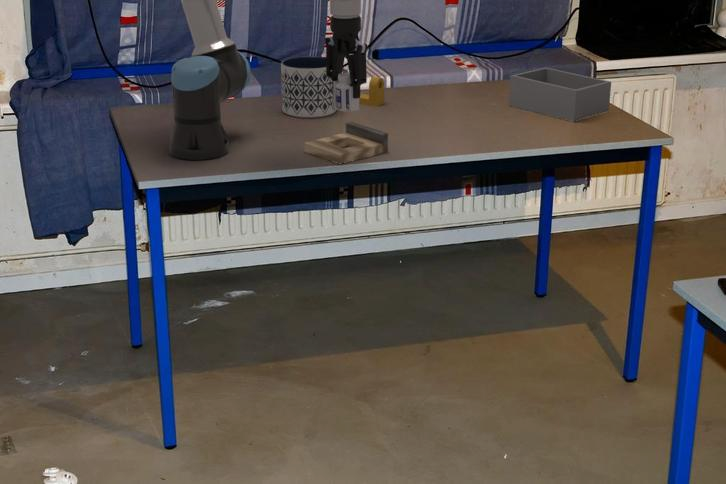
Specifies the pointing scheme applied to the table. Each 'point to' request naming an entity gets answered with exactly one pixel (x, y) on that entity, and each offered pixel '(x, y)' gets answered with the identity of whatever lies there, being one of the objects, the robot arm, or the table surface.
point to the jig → (350, 144)
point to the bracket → (374, 93)
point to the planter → (306, 87)
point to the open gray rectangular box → (559, 93)
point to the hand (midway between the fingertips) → (346, 108)
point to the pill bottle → (343, 92)
